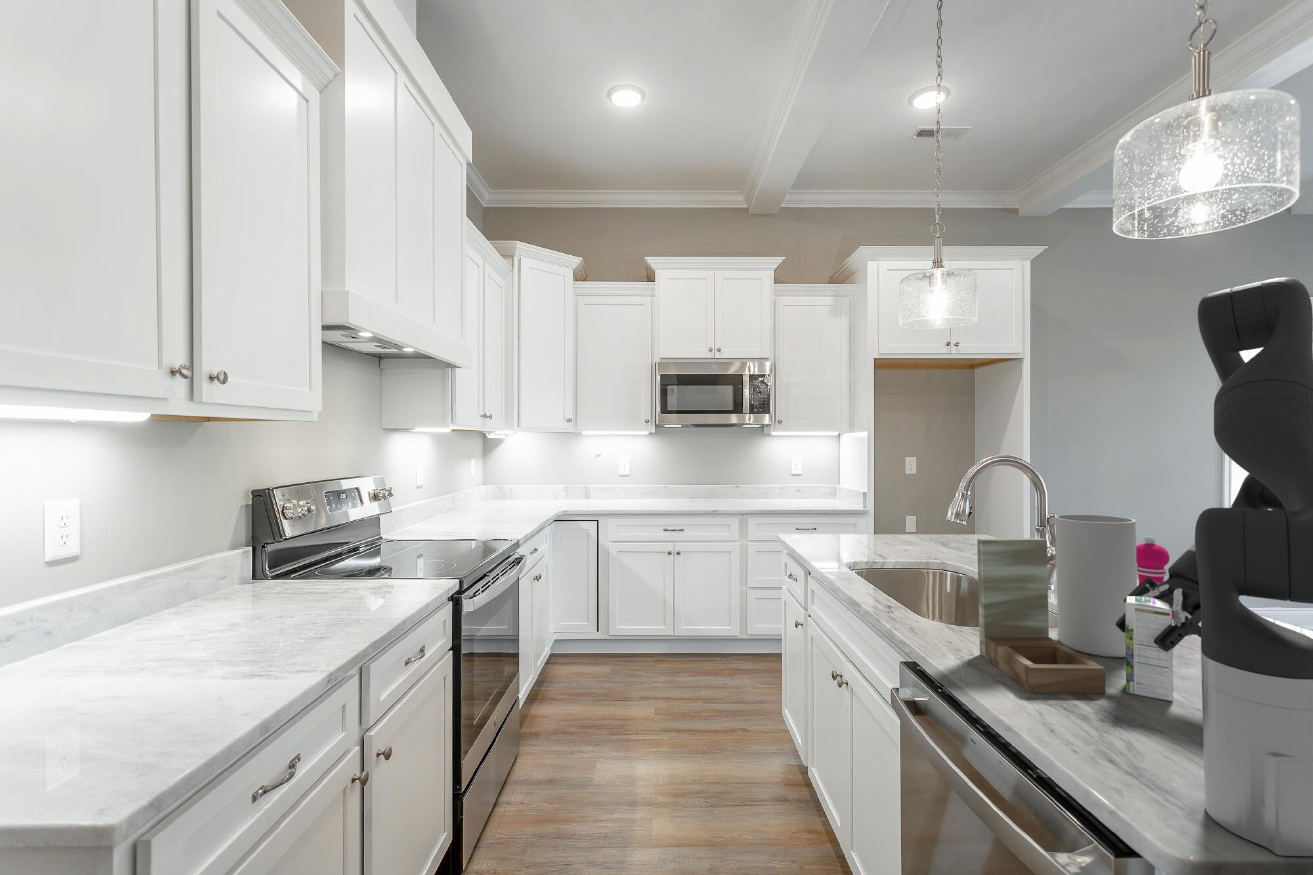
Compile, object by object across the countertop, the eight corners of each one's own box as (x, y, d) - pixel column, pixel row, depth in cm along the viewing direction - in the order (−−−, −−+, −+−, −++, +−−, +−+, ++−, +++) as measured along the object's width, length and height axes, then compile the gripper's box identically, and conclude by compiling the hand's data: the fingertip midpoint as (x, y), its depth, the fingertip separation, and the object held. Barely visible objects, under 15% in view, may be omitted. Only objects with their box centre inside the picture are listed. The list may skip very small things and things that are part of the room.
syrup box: (1126, 681, 97) (1123, 594, 97) (1173, 690, 93) (1170, 599, 93) (1126, 693, 92) (1123, 602, 93) (1175, 703, 89) (1172, 608, 89)
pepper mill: (1170, 629, 121) (1168, 534, 122) (1180, 640, 115) (1177, 539, 115) (1126, 624, 125) (1124, 532, 125) (1133, 634, 119) (1131, 537, 119)
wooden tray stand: (1105, 693, 92) (1102, 555, 93) (1030, 692, 93) (1027, 556, 93) (1043, 654, 109) (1040, 538, 109) (979, 654, 110) (977, 538, 110)
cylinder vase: (1148, 648, 111) (1145, 518, 111) (1125, 664, 104) (1121, 525, 104) (1072, 631, 121) (1070, 512, 122) (1046, 644, 114) (1043, 518, 114)
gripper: (1159, 541, 99) (1091, 608, 100) (1237, 558, 85) (1156, 636, 86) (1193, 572, 99) (1124, 639, 100) (1277, 594, 85) (1195, 672, 86)
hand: (1139, 637), depth 93 cm, fingers closed on syrup box, 7 cm apart
